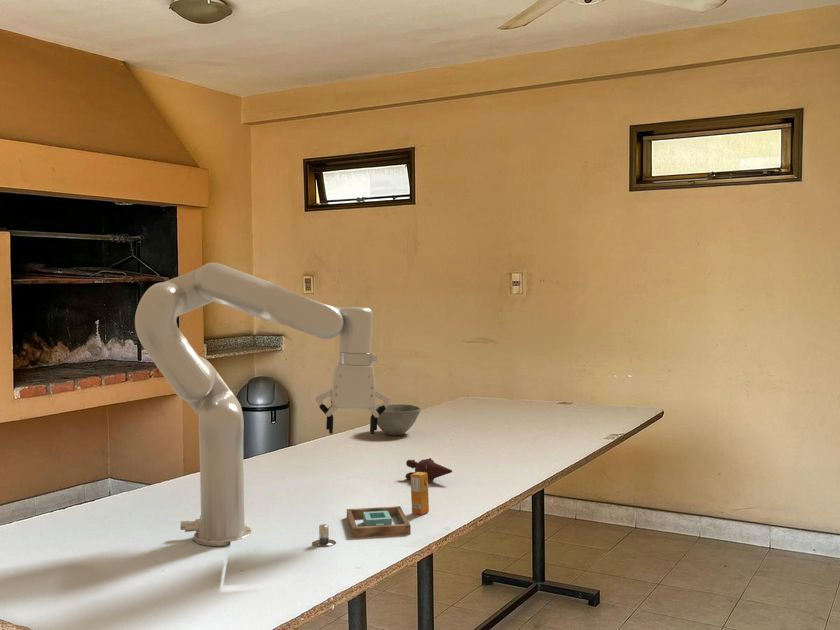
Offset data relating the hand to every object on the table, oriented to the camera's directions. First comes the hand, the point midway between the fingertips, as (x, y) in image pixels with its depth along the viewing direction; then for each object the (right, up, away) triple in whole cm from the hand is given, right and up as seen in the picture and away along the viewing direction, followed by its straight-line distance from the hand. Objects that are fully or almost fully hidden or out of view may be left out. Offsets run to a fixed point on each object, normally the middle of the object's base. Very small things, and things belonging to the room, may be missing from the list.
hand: (351, 433), depth 186 cm
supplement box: (+16, -22, +12) cm, 30 cm away
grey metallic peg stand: (-5, -23, -13) cm, 27 cm away
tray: (+6, -22, -1) cm, 23 cm away
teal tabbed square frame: (+6, -22, -1) cm, 23 cm away
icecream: (+18, -20, +43) cm, 51 cm away
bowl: (+7, -17, +111) cm, 113 cm away
